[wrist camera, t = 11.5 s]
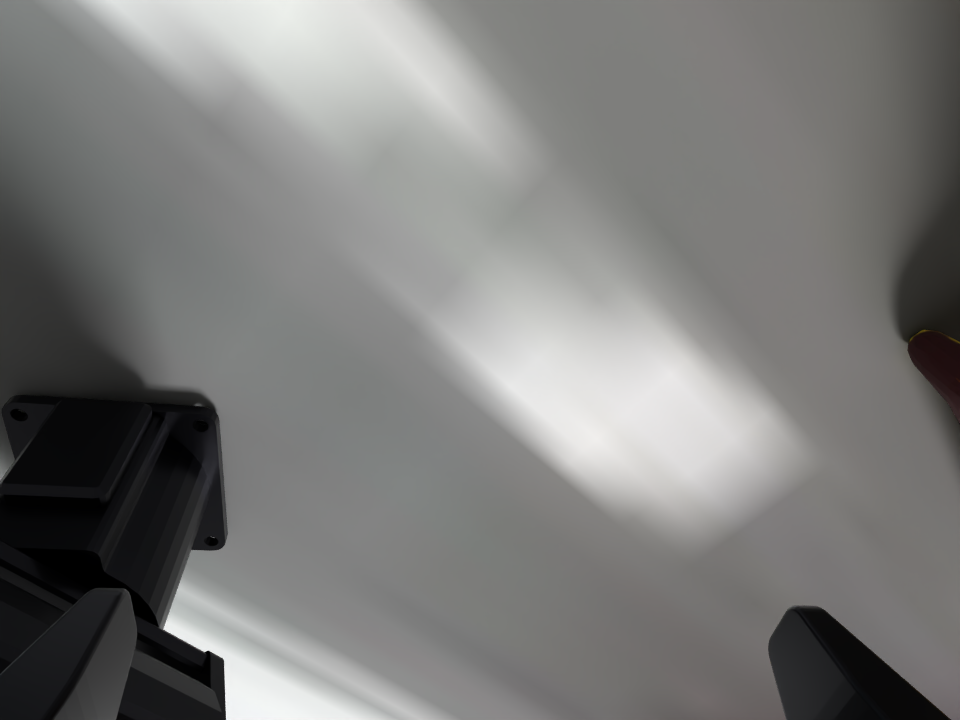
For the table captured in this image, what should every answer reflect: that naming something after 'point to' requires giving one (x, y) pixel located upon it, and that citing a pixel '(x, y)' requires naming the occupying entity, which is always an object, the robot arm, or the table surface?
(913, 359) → the decorative lantern
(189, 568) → the table surface
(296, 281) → the table surface
